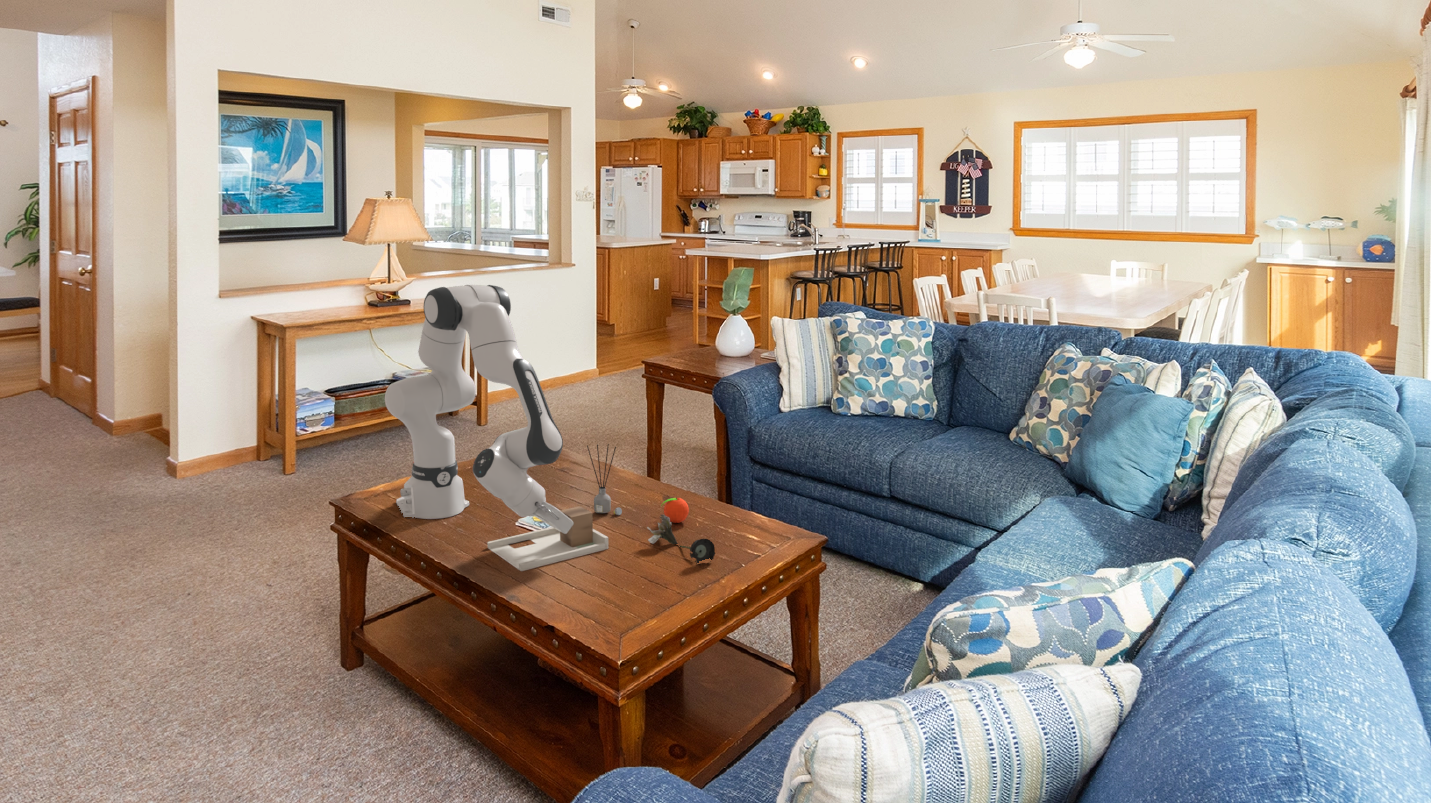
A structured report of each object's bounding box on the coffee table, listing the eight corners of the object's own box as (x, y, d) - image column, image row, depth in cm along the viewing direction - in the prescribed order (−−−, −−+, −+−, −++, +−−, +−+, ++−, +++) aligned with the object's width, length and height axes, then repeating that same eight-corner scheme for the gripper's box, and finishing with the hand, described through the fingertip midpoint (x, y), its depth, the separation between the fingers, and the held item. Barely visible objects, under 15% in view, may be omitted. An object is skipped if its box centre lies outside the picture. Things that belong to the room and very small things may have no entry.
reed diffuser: (584, 514, 257) (583, 446, 253) (592, 506, 264) (591, 439, 259) (619, 517, 255) (619, 448, 251) (626, 509, 262) (626, 442, 257)
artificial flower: (689, 574, 222) (677, 537, 219) (647, 553, 241) (636, 519, 238) (719, 558, 226) (708, 521, 223) (675, 538, 245) (665, 505, 242)
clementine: (662, 527, 248) (663, 502, 246) (657, 519, 255) (657, 494, 253) (691, 525, 250) (691, 500, 249) (685, 517, 257) (685, 492, 255)
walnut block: (560, 540, 233) (559, 510, 232) (580, 535, 237) (580, 506, 235) (572, 547, 229) (571, 517, 227) (592, 542, 233) (592, 512, 231)
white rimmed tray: (487, 553, 228) (487, 536, 227) (572, 533, 243) (571, 517, 242) (521, 577, 214) (520, 559, 213) (608, 554, 229) (608, 537, 228)
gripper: (556, 498, 215) (592, 529, 223) (516, 477, 230) (551, 506, 238) (539, 520, 213) (576, 550, 221) (500, 497, 228) (536, 526, 237)
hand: (563, 527), depth 230 cm, fingers closed, pressing on walnut block
